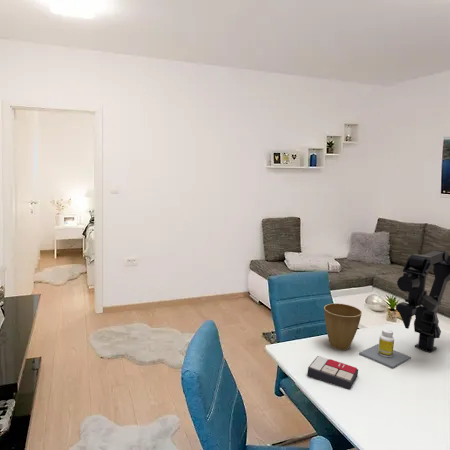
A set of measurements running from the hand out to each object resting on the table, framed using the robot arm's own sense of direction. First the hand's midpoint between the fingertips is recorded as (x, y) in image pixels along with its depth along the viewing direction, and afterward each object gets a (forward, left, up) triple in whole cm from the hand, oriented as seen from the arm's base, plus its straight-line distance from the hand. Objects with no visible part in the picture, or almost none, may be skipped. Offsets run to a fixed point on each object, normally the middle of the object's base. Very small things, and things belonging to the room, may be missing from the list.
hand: (412, 325), depth 153 cm
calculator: (+38, -9, -14) cm, 41 cm away
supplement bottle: (+8, -6, -12) cm, 16 cm away
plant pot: (+15, -22, -13) cm, 30 cm away
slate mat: (+8, -6, -13) cm, 16 cm away
